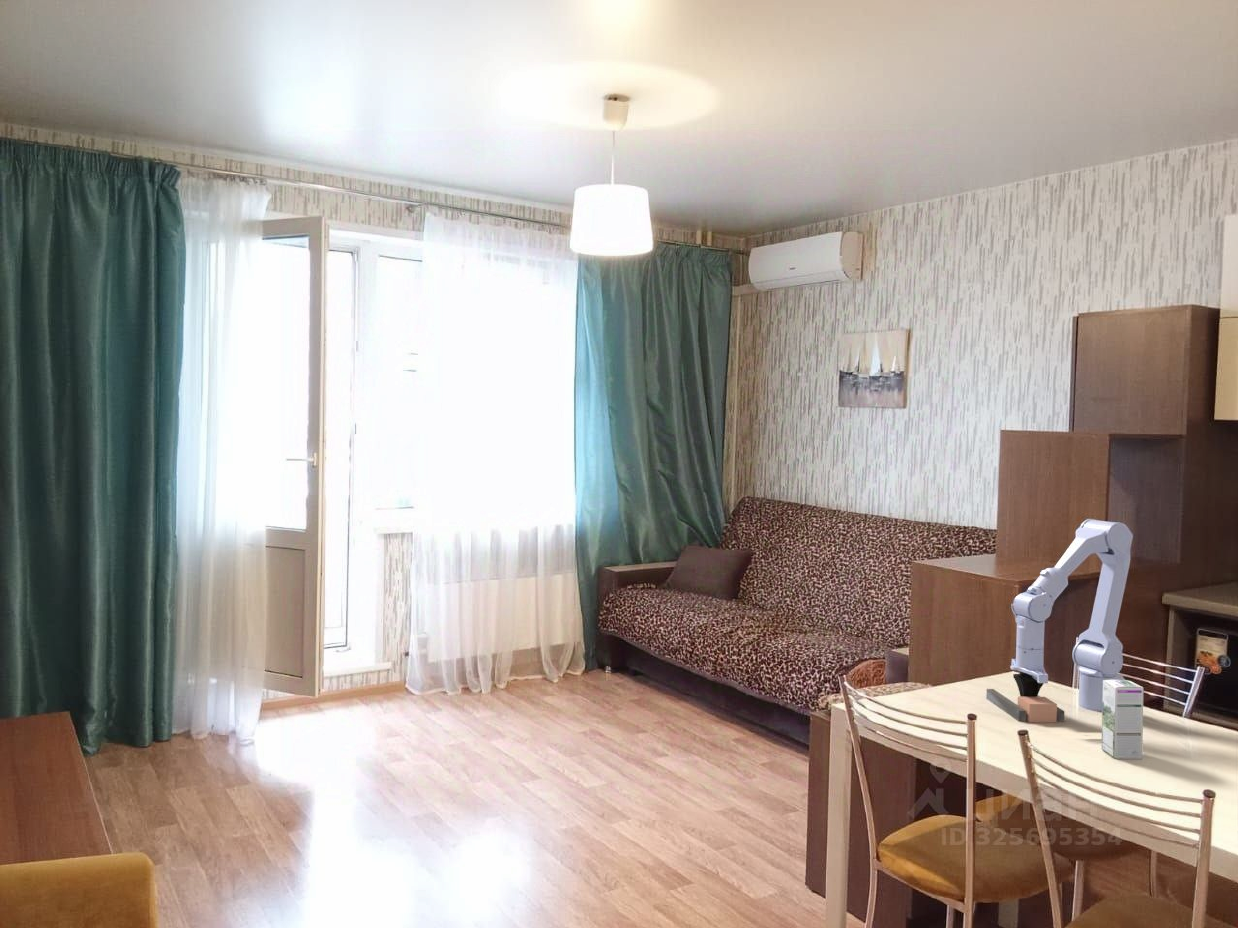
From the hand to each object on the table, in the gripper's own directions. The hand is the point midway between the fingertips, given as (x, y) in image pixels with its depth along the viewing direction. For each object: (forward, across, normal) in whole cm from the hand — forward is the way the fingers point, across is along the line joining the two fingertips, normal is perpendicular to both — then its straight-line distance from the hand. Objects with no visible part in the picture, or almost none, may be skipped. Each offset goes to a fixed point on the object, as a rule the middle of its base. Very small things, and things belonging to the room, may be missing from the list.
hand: (1028, 707), depth 222 cm
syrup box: (+3, +25, +8) cm, 26 cm away
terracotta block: (+1, +4, 0) cm, 5 cm away
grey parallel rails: (+2, -2, 0) cm, 3 cm away
